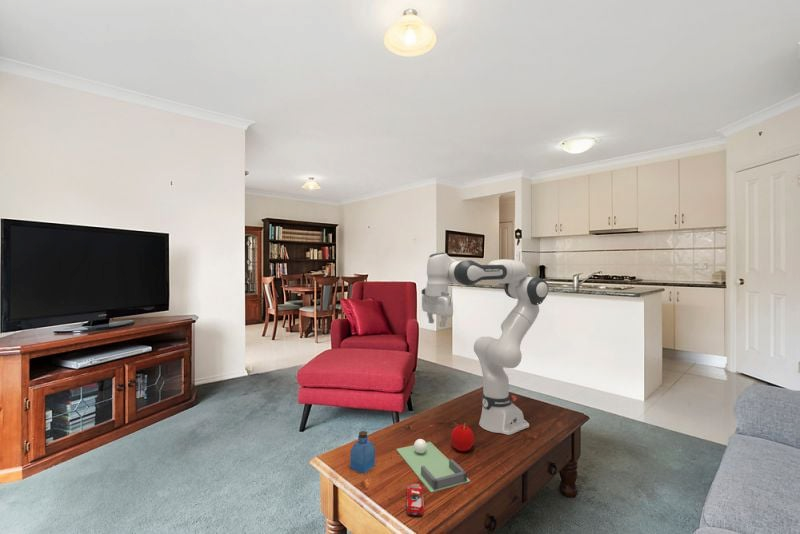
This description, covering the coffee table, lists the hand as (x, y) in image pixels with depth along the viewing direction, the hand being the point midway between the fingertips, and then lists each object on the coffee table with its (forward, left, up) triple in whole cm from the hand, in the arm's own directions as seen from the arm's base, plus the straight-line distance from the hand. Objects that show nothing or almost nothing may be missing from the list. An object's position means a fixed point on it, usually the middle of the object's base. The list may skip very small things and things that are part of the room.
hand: (436, 324), depth 145 cm
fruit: (-6, +11, -48) cm, 49 cm away
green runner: (+11, +16, -47) cm, 51 cm away
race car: (+25, +32, -48) cm, 63 cm away
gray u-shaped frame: (+11, +25, -47) cm, 55 cm away
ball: (+11, +8, -44) cm, 47 cm away
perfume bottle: (+34, +8, -48) cm, 59 cm away
